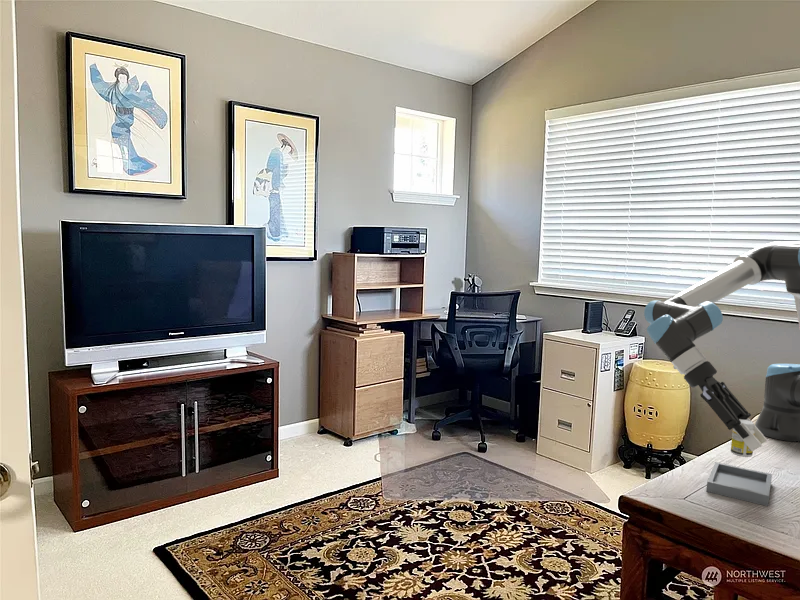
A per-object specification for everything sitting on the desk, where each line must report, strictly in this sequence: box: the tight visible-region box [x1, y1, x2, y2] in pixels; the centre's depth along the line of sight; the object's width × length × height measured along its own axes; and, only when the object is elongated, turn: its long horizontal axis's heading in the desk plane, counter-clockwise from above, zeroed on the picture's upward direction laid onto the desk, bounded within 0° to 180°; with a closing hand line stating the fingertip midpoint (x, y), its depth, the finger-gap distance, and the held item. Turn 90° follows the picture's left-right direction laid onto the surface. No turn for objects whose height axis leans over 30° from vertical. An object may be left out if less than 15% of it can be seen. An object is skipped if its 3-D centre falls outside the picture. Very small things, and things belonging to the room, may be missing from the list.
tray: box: [706, 461, 773, 507], centre depth 150 cm, size 16×13×2 cm
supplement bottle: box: [730, 419, 755, 458], centre depth 149 cm, size 5×5×8 cm
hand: (759, 445), depth 146 cm, fingers closed on supplement bottle, 5 cm apart
